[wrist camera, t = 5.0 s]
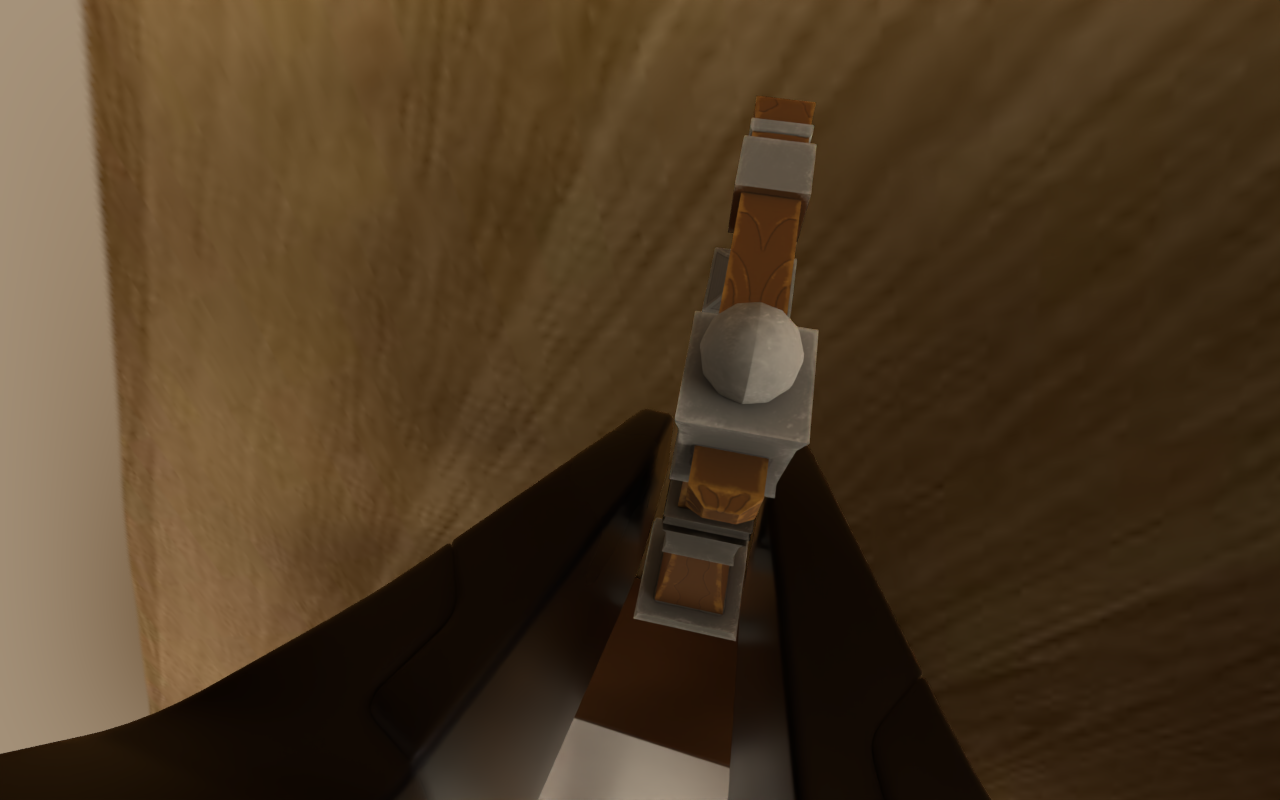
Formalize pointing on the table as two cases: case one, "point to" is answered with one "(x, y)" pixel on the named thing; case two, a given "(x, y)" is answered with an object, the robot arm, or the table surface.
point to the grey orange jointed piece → (738, 386)
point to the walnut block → (651, 717)
